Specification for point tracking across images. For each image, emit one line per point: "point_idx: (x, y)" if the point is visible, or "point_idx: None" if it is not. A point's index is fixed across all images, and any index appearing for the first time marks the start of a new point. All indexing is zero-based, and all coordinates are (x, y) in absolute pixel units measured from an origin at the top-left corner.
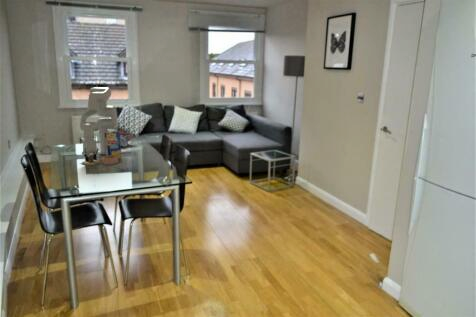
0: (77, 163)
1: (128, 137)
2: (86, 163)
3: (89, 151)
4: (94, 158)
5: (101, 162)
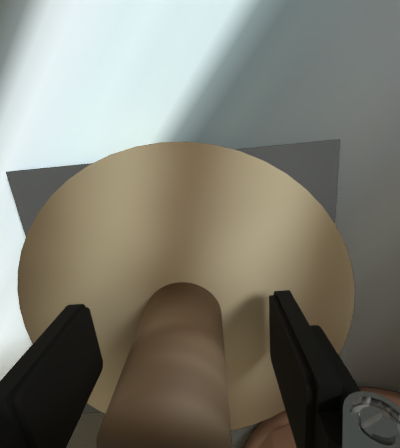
0: (18, 63)
1: None
2: None
3: None
4: (276, 346)
5: None
